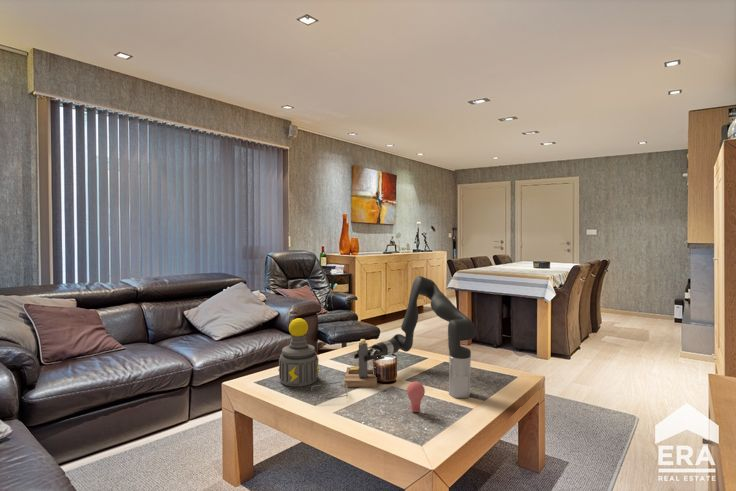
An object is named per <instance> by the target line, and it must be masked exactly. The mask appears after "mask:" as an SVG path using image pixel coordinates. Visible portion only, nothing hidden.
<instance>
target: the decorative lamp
mask: <svg viewBox="0 0 736 491" xmlns="http://www.w3.org/2000/svg"><path fill="white" fill-rule="evenodd" d="M308 330H309V325H308V322H307V321H306V320H305V319H303V318H298V317H297V318H295V319H292V320H291V321H290V323H289V325H288V332H289V334H290V335H291V339H290V343H289V344H288V345H286V346H284V347H283V348H282V349H281V354H280V355H279V359H278V367H279V368H278V373H279V374H278V379H279V380H280V383H281V384H282V385H284V386H288V387H292V388H293V387H294V388H298V387H300V388H301V387H306V386H310V385H312V384H313V383H315V382H317V380H318V378H319V371H320V368H319V360H320V359H319V357H318V353H317V352H316V348H315V346H314V345H311V344H308V341H307V335H306V334H307V333H308Z"/></svg>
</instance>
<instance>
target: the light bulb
mask: <svg viewBox="0 0 736 491" xmlns="http://www.w3.org/2000/svg"><path fill="white" fill-rule="evenodd" d="M425 391H426V390H425V387H424V385H423V384H422V383H421V382H420V381H412V382H410V383H409V384H408V386H407V388H406V394H407V397H408V399H409V400H410V408H411V409H410V410H411V411H412V412H414V413H418V412H420V411H421V401H422V400H423V398H424V396H425V393H426V392H425Z"/></svg>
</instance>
